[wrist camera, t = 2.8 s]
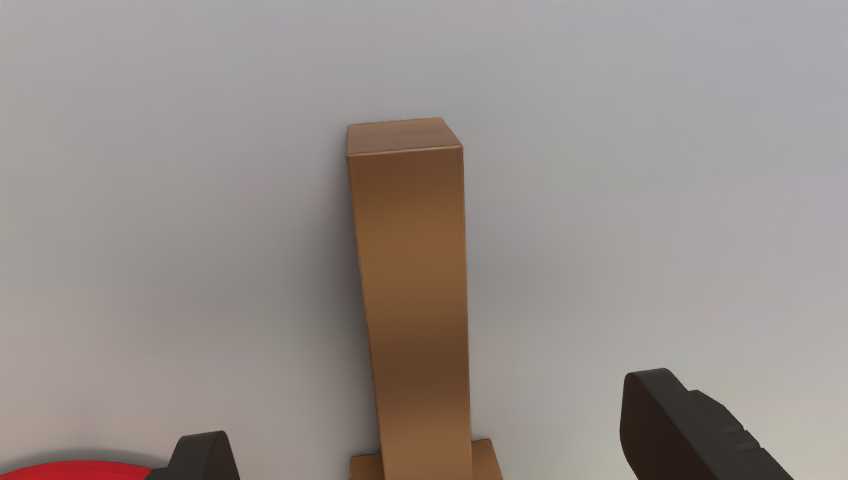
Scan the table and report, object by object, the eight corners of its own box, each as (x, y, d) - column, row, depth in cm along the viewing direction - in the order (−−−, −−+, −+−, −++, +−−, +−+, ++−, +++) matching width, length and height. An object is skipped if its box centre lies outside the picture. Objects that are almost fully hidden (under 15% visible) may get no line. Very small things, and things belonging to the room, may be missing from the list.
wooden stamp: (300, 128, 13) (285, 159, 11) (488, 113, 14) (520, 139, 11) (365, 556, 20) (366, 644, 17) (491, 537, 20) (512, 620, 17)
